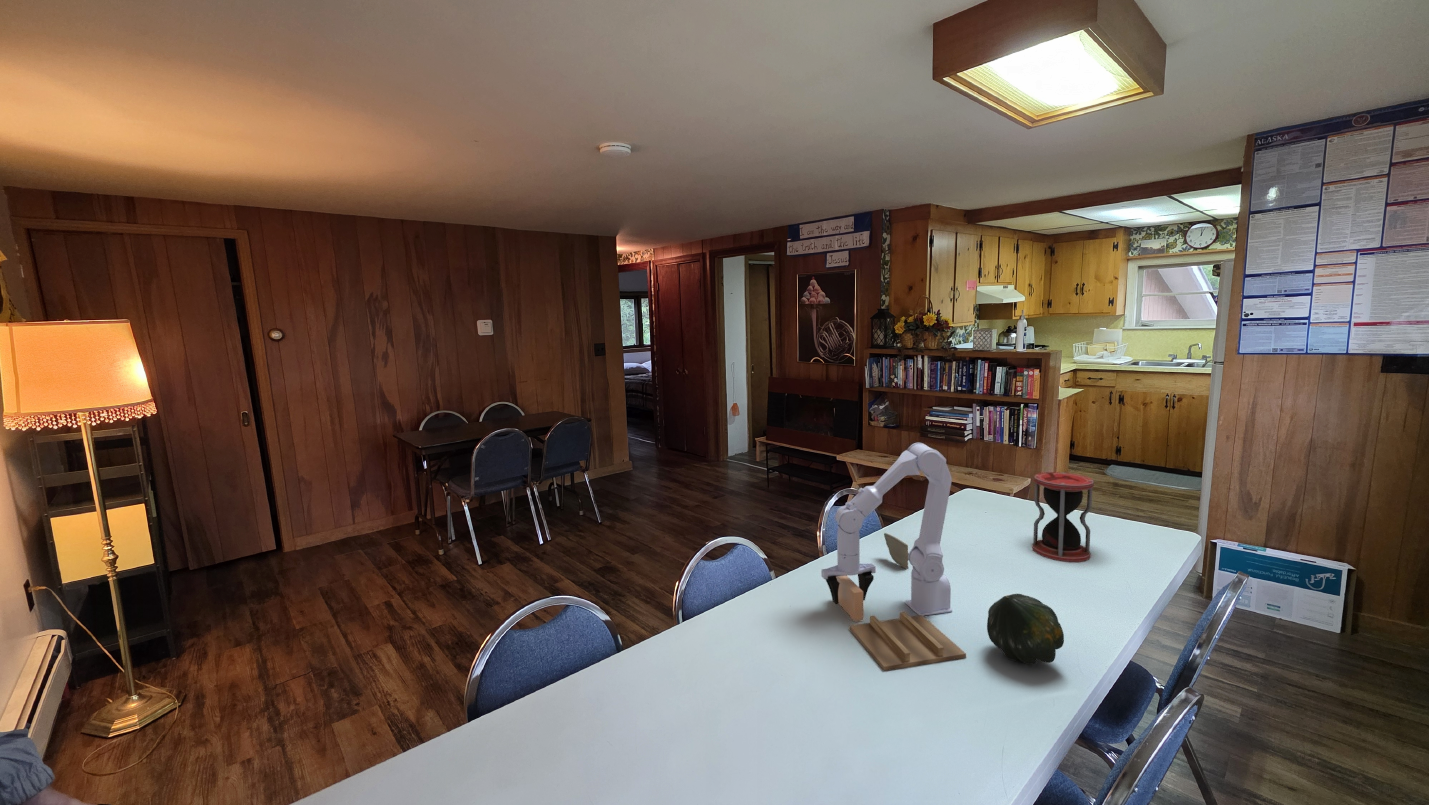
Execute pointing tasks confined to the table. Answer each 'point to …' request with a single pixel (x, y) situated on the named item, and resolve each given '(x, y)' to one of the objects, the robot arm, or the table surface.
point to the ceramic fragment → (897, 550)
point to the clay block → (850, 597)
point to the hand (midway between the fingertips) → (848, 600)
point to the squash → (1024, 629)
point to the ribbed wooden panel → (905, 642)
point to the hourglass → (1062, 517)
